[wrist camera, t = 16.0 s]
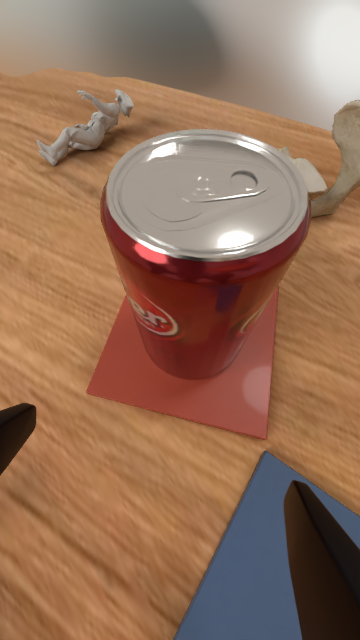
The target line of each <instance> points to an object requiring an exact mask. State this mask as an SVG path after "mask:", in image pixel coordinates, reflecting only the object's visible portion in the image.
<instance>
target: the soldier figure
mask: <svg viewBox="0 0 360 640" xmlns="http://www.w3.org/2000/svg"><path fill="white" fill-rule="evenodd" d="M115 91H116V95H117V98H116V99H117V100H118V103H119V105H120V107H119V106H118V105H117V104H116V103H107V104H105V103H102V102H101V101H100V100H98V99H97V98H95V97H93V96H92V95H91V94H89V93H87V92H86V91H82V90H78V91H77V93H82V94H79V95H85V96H84V97H82V99H89V100H91V101H92V103H93V105H94V106H95V107H96V108H97V109H98V110H99V111H98V112H94V114H93V115H92V116H91V117H92V119H91V120H90V121H89V123H88V124H87V125H82V124H77V125H75V126H74V127H67V128H64V129H63V131H62V133H61V135H60V137H59V138H58V139H57V141H56V142H55V143H53V144H52V145H51V146H47V145H44V144H43V143H41V142H40V141H39V140H38V141H37V143H38V145H39V147H40V148H41V149H42V150H43V151H44V152H43V151H42V150H39V153H40V154H41V155H42V157H43V158H44V159H45V160H47V161H49V162H50V163H51V164H52V165H53V166H55V164H57V162H58V160H59V159H60V158H61V157H62V156H64V154H65V153H66V152H67V151H68V148H69V147H70V148H73V149H74V148H75V149H83V150H91V149H96V148H98V147H99V146H100V143H101V142H102V140H103V138H104V134H105V133H107V131H108V130H110V129H112V128H113V127H114V126H115V125H117V124H118V118H119V113H120V108H121V110H122V112H123V114H124V115H125V116H126V115H127V116H128V117H129V116H130V112H131V109H132V108H133V107H134V106H133V103H132V101H131V99H130V97H129V96H127V95H126V94H125V93H124V92H123V91H121V90H117V89H115ZM116 99H115V100H116ZM45 152H46V153H45Z"/></svg>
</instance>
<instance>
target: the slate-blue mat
mask: <svg viewBox="0 0 360 640" xmlns="http://www.w3.org/2000/svg"><path fill="white" fill-rule="evenodd" d="M292 480H297V481H300V482H304V483H306V484H307V485H308V486H309V487H310V488H311V490H312V491H313V492H314V493H315V495H316V496H317V497H318V498H319V499H320V501H321V502H322V503H323V504H324V506H325V507H326V508H327V509H328V511H329V512H330V513H331V514H332V516H333V517H334V518H335V519H336V521H337V522H338V523H339V524H340V525H341V527H342V528H343V529H344V530H345V532H346V533H347V534H348V535H349V537H350V538H351V539H352V540H353V542H354V543H355V544H356V545H357V547H358V548H359V549H360V516H358V515H357V514H355V513H354V512H352V511H351V510H350V509H348V508H347V507H345V506H344V505H343V504H341V503H340V502H338V501H337V500H335V499H334V498H333V497H331V496H330V495H328V494H327V493H326V492H324V491H323V490H321V489H320V488H318V487H317V486H316V485H314V484H313V483H311V482H310V481H309V480H307V479H306V478H304V477H303V476H301V475H300V474H299V473H297V472H296V471H294V470H293V469H292V468H290V467H289V466H287V465H286V464H284V463H283V462H282V461H280V460H279V459H277V458H276V457H274V456H273V455H272V454H270V453H269V452H267V451H264V452H263V454H262V457H261V459H260V461H259V463H258V465H257V467H256V469H255V471H254V473H253V475H252V477H251V479H250V481H249V484H248V486H247V488H246V490H245V492H244V494H243V496H242V498H241V500H240V502H239V504H238V506H237V508H236V510H235V513H234V515H233V517H232V519H231V521H230V523H229V525H228V527H227V529H226V531H225V533H224V535H223V537H222V539H221V542H220V544H219V546H218V548H217V550H216V552H215V554H214V556H213V558H212V560H211V562H210V564H209V566H208V568H207V571H206V573H205V575H204V577H203V579H202V581H201V583H200V585H199V587H198V589H197V591H196V593H195V595H194V597H193V600H192V602H191V604H190V606H189V608H188V610H187V612H186V614H185V616H184V618H183V620H182V622H181V624H180V627H179V629H178V631H177V633H176V635H175V637H174V639H173V640H302V636H301V630H300V625H299V619H298V614H297V608H296V603H295V597H294V591H293V586H292V580H291V575H290V569H289V562H288V552H287V541H286V530H285V519H284V508H283V502H284V497H285V495H286V492H287V490H288V488H289V485H290V483H291V481H292Z"/></svg>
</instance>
